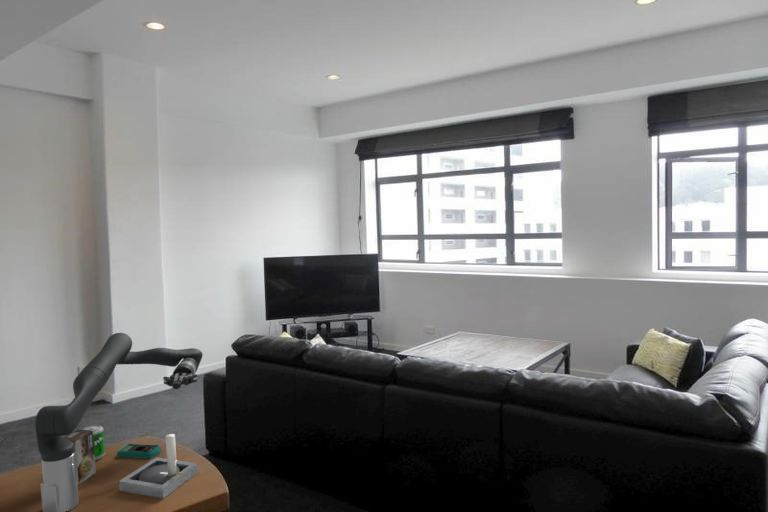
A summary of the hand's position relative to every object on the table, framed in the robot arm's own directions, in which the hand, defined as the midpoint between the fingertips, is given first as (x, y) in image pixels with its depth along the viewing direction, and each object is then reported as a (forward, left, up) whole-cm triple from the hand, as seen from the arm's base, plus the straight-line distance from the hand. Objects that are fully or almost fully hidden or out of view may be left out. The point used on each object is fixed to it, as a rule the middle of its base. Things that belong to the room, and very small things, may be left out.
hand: (175, 386), depth 197 cm
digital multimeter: (+4, +22, -31) cm, 38 cm away
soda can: (-4, +36, -30) cm, 47 cm away
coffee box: (-18, +28, -30) cm, 45 cm away
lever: (-12, -1, -30) cm, 32 cm away
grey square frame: (-12, -1, -30) cm, 32 cm away
